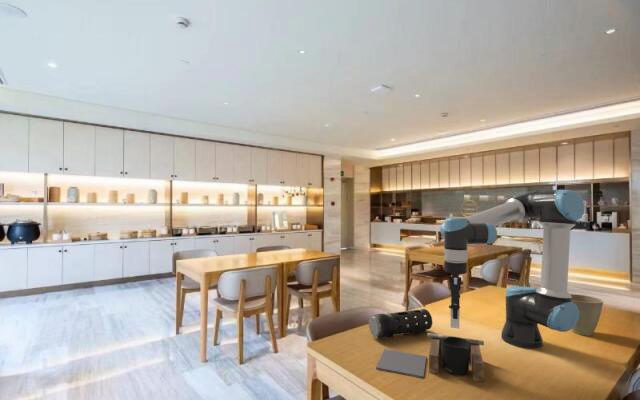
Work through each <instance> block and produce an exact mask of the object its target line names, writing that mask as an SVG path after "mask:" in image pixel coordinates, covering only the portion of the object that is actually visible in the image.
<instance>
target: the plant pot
mask: <svg viewBox="0 0 640 400" xmlns="http://www.w3.org/2000/svg"><path fill="white" fill-rule="evenodd" d="M569 294H570V295H571V296H572V303H573V304H575V305H576V306H577V308H578V310H579V319H578V321H577V323H576V325H575V326H574V327H573V328H572V329H571V331H572V332H573V333H575V334H577V335H581V336H587V337H589V336H593V334H594V333H595V331H596V329H597V326H598V324H599V321H600V317H601V315H602V310H603V309H602V308H603V305H604V304H603V303H604V300H603V299H600V298H597V297H594V296H590V295H586V294H585V295H583V294H575V293H569Z"/></svg>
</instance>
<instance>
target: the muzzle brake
mask: <svg viewBox="0 0 640 400" xmlns="http://www.w3.org/2000/svg"><path fill="white" fill-rule="evenodd" d="M432 327H433V318H432V314H431V313H430V311H429V310H428V309H425V308H421V309H420V308H419V309H414V310H407V311H399V312H398V311H397V312H390V313H386V314H385V313H379V314H378V313H377V314H374V315H373V316H370V318H369V320H368V328H369V329H368V330H369V331H370V334H371V335H372V336H373V337H375V338H376V337H377V338H380V339H381V338H386V337H389V338H393V337H394V336H396V335H402V334H403V335H406V334H407V335H408V334H409V335H410V334H411V335H412V334H417V333H423V332H426V331H428V330H431V328H432Z"/></svg>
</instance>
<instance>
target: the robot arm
mask: <svg viewBox="0 0 640 400" xmlns="http://www.w3.org/2000/svg"><path fill="white" fill-rule="evenodd" d="M584 214H585V203H584V200H583V199H582V196H580V194H579V193H578V192H576V191H574V190H571V189H553V190H551V189H550V190H536V191H530V192H526V193H523V194H520V195H517V196H515V197H512V198H509V199H507V200H506V202H505V203H503V204H500V205H496V206H494V207H491V208H488V209H486V210H481V211H480V212H476V213H474V214H471V215H469V216H466V217H447V218H445V221H444V222H442V224H441V225H440V228H439V232H440V235H441V237H442V238H444V241H443V244H444V250H443V251H442V254H444V255H443V256H444V262H443V270H444V272H445V273H449V274H451V275H450V276H449V277H448V279H449V281H448V282H449V290H450V305H448V308H449V309H450V328H452V329H459V330H460V314H461V313H460V310H461V309H460V308H461V306H460V298H461V294H460V291H461V290H462V289H461V288H462V287H461V286H462V277H461V276H460V275H464V274H467V273H468V263H467V261H468V245H489V244H494V242H495V241H496V240H497V238H498V231H497V228H496V227H497V226H499V225H503V224H506V223H508V222H511V221H521V220H523V219H524V220H525V219H539V224H540V225H541V227H543V231H542V233H543V234H542V248H541V249H542V250H541V252H542V254H541V269H540V270H541V271H540V286H539V287H538V288H537V287H532V286H531V287H530V286H510V287H509V286H508V287H507V289H506V293H505V322H504V325H503V327H502V331H501V336H500V337H501V339H502V341H504V342H505V343H507V344H510V345H512V346H516V347H520V348H524V349H525V348H526V349H540V348H542V347H543V345H544V343H543V337H542V334H541V331H540V329H539V327H538V326H539V325H540V326H543V327H546V328H548V329H550V330H553V331H558V332H561V333H566V332H569V331H572V328H573V327H574V326H575V325H576V323H577V321H578V319H579V310H578V308H577V306H576V305H575V304H573V303H572V296H571V295H570V294H571V293H569V291H568V282H569V280H568V279H569V264H570V262H569V261H570V260H569V259H570V241H571V229H572V228H574V227H575V226H576V224H577V223H576V221H579V220H580V219H582V218H583V215H584Z"/></svg>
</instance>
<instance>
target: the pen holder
mask: <svg viewBox="0 0 640 400" xmlns="http://www.w3.org/2000/svg"><path fill="white" fill-rule="evenodd" d="M459 337H460V336H453V337H447V338H445V339H444V340H441V355H442V356H441V367H442V370H443V372H445V373H447V374H449V375H452V376H456V377H465V376H466V375H468V374H469V368H470V360H469V353H470V343H469V342H468V341H467V340H465V339H462V338H463V337H460V338H459Z"/></svg>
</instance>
